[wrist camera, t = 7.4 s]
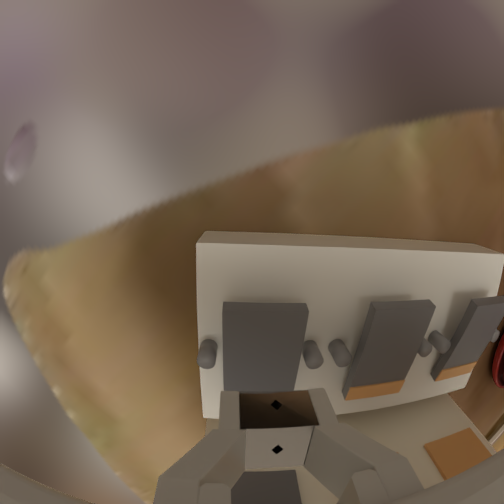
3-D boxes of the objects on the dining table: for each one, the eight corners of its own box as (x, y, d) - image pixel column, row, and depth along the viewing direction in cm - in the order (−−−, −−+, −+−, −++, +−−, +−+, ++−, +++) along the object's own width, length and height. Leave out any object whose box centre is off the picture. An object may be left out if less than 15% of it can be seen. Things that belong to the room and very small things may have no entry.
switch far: (504, 295, 15) (511, 302, 14) (465, 365, 18) (469, 373, 17) (471, 298, 14) (478, 307, 14) (430, 373, 18) (434, 382, 17)
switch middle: (429, 299, 15) (437, 307, 14) (393, 384, 17) (398, 393, 16) (370, 301, 14) (376, 311, 14) (341, 391, 17) (344, 401, 16)
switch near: (305, 302, 14) (309, 313, 13) (289, 395, 17) (290, 405, 16) (223, 301, 14) (222, 312, 13) (224, 395, 17) (224, 406, 16)
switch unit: (474, 243, 20) (623, 305, 4) (434, 389, 23) (515, 494, 8) (205, 230, 19) (84, 406, 3) (209, 410, 22) (193, 585, 7)
